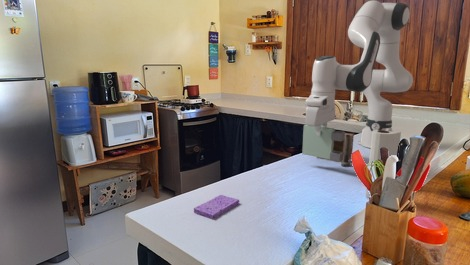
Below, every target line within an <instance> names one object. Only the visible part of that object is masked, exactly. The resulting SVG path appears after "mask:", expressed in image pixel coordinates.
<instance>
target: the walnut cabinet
mask: <svg viewBox="0 0 470 265" xmlns="http://www.w3.org/2000/svg"><path fill="white" fill-rule="evenodd" d="M354 136H355V134H354V133H347V132H345V140H343V141H335V140H334V146H333V151H340V152H344V154H343V160H342V161H340V162H339V163H340V166H342V167H347V168H349V167H351V159H352V158H351V154H352V155H353V149H354V148H353V146H354ZM316 158H317V159H321V160H326V161H332V160H330V159H325V158H320V157H316ZM332 162H333V161H332ZM335 162H337V161H335ZM337 163H338V162H337Z"/></svg>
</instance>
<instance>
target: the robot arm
mask: <svg viewBox="0 0 470 265" xmlns="http://www.w3.org/2000/svg"><path fill="white" fill-rule="evenodd" d="M410 11H411V10H410V7H409V6H408V4H406V3H404V2H380V1H379V0H369V1H366V2H364V4H362V5H361V6H360V7H359V8H358V9H357V11H356V13H355V15H354V17H353V18H352V21H351V22H350V25H349V26H348V29H347V36H348V39H349V40H350V42H351V43H352V44H354V45H355V46H356V47H359V48H361V49H363V51H362V55H361V57H360V59H359V60H360V61H359V62H358V63H356V64H341V63H339V62H338V61H337V59H336V56H334V55H322V56H321V55H320V56H318V57H316V58H315V59H314V62H313V65H312V72H311V74H312V75H311V82H312V86H311V91H310V95H309V97H307V99H305V103H304V104H305V106H306V108H305V125H307V126H311V127H315V129H316V135H319V136H320V135H321V134H322V131H321V127H327V126H328V123H329V122H331V121H334V120H335V118H336V102H335V98H336V90H340V91H350V92H354V93H362V94H363V95H364V96H365V98H366V101H367V118H366V120H365V125H366V126H365V127H364V128H362V130H361V131H362V132H361V139H360V141H359V140H358V141H357V144H358V145H360V146H362V147H363V148H369V149H371V139H372V131H373V130H386V129H387V128H390V129H391V132H394V131H393V129H392V127H393V120H392V119H393V118H392V116H393V108H394V106H393V103H392V102H391V101H390V100H388V99H385V97H382V96H381V93H403V92H407V91H409V90H410V88H411V87H412V86H413V84H414V76H413V74H412V73H411V72H410V71H408V69H406V68H405V67H404V66H403V64H402V62H401V59H400V44H401V29H403V28H404V27H405V26H407V23H408V22H409V19H410V14H411V12H410ZM376 62H377V63H379V64H381V65H383V66H384V67H385V69H374V67H375V65H376V64H375V63H376ZM327 128H328V127H327Z"/></svg>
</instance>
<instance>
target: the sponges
mask: <svg viewBox="0 0 470 265" xmlns="http://www.w3.org/2000/svg"><path fill="white" fill-rule="evenodd" d="M239 204H240V199H239V198H235V197H230V196H226V195H224V194H219V195H217V196H215V197H214V198H211V199H209V200H207V201H206V202H203V203H201V204H199V205H197V206H195V207H194V208H193V213H195V214H198V215H199V216H203V217H206V218H209V219H211V220H214V219H216V218H217V217H219V216H220V215H222V214H224V213H226V212H227V211H229V210H230V209H231V210H232V208H234V207H236V206H237V205H239Z"/></svg>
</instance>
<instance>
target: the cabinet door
mask: <svg viewBox="0 0 470 265" xmlns="http://www.w3.org/2000/svg"><path fill="white" fill-rule="evenodd" d="M302 131H303V133H302V149H301V151H302V153H301V154H302V155H304V156H311V157H315V158H317V157H320V158H325V159H324V160H326V159H330V160H329V161H331V160H332V162H336V161H337V163H341V162H340V161H342V160H343V154H344V152H340V151H333V146H334V140H335V141H343V140H345V133H346V131H340V130H335V127H321V131H322V134H321V135H320V136H319V135H316V129H315V127H311V126H307V124H304V125H303V130H302ZM320 158H319V159H320Z"/></svg>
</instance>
